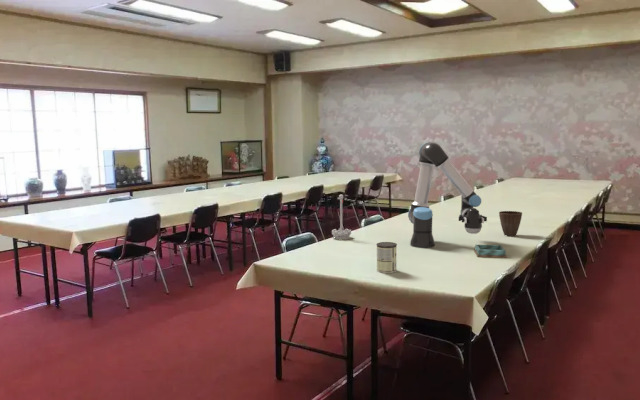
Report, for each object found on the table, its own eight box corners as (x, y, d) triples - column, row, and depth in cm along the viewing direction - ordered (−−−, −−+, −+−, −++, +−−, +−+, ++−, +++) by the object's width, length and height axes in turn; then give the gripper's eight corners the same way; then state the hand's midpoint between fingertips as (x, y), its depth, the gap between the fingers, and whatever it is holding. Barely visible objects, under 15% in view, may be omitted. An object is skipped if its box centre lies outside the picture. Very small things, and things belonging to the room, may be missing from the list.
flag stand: (348, 240, 355) (347, 195, 351) (329, 239, 359) (329, 195, 356) (353, 236, 367) (353, 193, 364) (335, 235, 372) (334, 193, 368)
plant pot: (497, 236, 363) (497, 213, 361) (499, 232, 376) (500, 210, 374) (520, 238, 357) (521, 214, 355) (522, 234, 370) (523, 211, 368)
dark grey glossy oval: (470, 235, 316) (471, 209, 314) (460, 232, 326) (461, 207, 324) (485, 233, 319) (486, 208, 317) (475, 230, 329) (476, 206, 327)
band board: (477, 256, 304) (477, 250, 303) (474, 250, 319) (474, 244, 319) (506, 257, 301) (507, 250, 301) (501, 251, 317) (502, 244, 316)
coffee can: (375, 268, 280) (375, 242, 279) (394, 268, 281) (394, 241, 279) (378, 273, 270) (378, 246, 269) (398, 273, 271) (398, 245, 269)
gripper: (486, 221, 338) (493, 227, 316) (451, 221, 341) (455, 227, 319) (487, 209, 337) (493, 214, 315) (451, 209, 340) (455, 214, 318)
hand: (474, 221), depth 317 cm, fingers closed on dark grey glossy oval, 9 cm apart
